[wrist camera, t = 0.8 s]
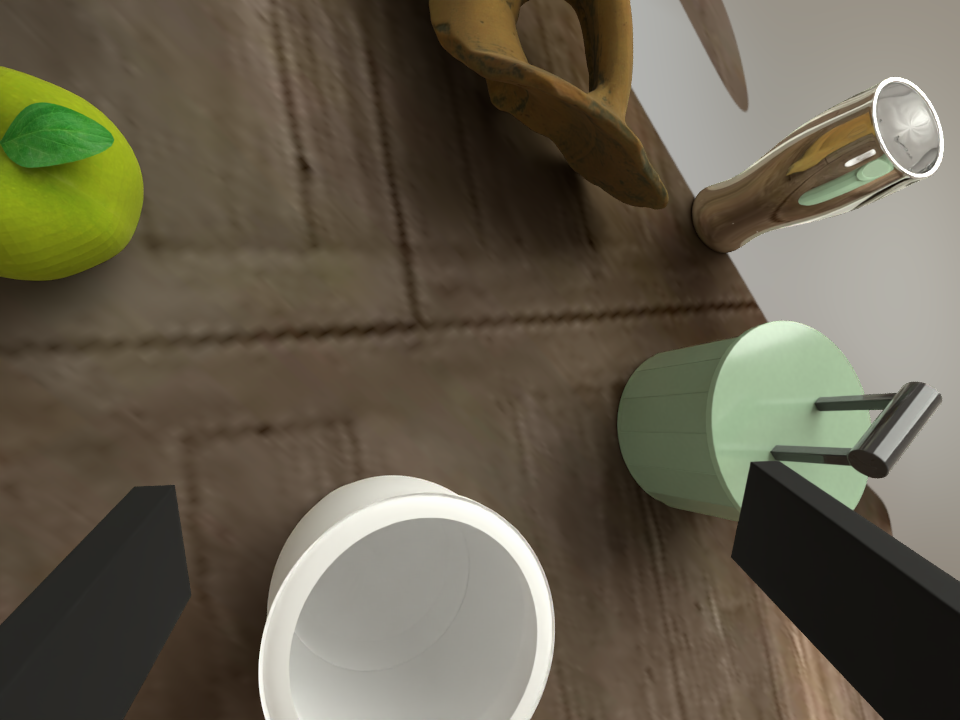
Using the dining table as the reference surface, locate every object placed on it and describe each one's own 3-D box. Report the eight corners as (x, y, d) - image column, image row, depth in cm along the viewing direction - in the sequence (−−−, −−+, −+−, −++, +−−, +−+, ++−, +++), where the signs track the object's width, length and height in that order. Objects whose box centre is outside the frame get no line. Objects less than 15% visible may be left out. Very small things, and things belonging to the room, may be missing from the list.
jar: (244, 610, 29) (195, 783, 15) (319, 439, 31) (339, 449, 17) (413, 655, 32) (507, 837, 18) (470, 495, 34) (591, 543, 20)
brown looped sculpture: (386, 178, 27) (370, -261, 26) (410, 227, 40) (400, -64, 39) (724, 173, 28) (726, -255, 27) (641, 223, 41) (639, -63, 39)
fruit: (-7, 117, 28) (-161, -40, 18) (181, 176, 31) (131, 66, 21) (-73, 273, 26) (-279, 188, 17) (133, 320, 29) (56, 270, 19)
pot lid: (659, 403, 30) (771, 397, 23) (786, 285, 34) (912, 249, 27) (776, 585, 31) (917, 632, 24) (883, 447, 36) (1028, 453, 29)
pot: (587, 409, 38) (676, 405, 29) (690, 321, 42) (794, 293, 34) (675, 541, 39) (785, 575, 30) (766, 442, 44) (886, 446, 35)
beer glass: (684, 176, 44) (865, 60, 30) (745, 189, 46) (939, 87, 32) (689, 253, 43) (877, 171, 29) (751, 262, 46) (952, 190, 32)
